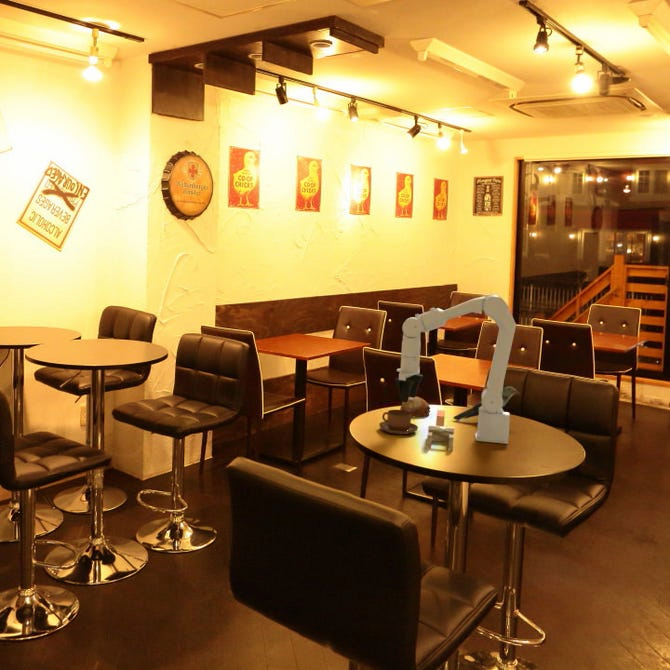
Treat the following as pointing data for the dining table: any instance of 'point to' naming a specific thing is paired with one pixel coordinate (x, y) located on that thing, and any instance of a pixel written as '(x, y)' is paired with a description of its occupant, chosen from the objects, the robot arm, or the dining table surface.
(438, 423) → the orange long block
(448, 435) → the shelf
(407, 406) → the bread roll
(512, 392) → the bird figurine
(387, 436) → the dining table surface
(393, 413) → the cup and saucer
